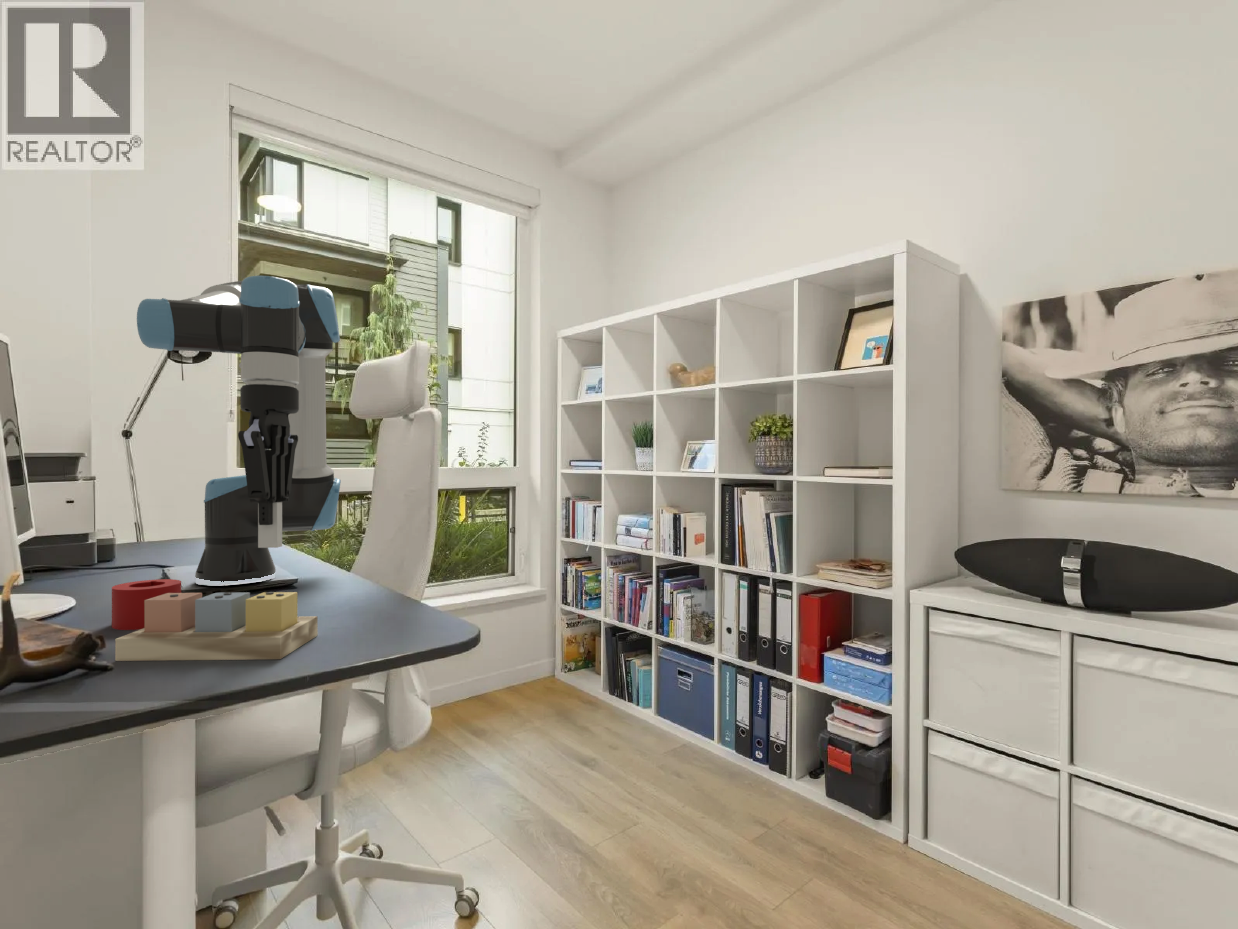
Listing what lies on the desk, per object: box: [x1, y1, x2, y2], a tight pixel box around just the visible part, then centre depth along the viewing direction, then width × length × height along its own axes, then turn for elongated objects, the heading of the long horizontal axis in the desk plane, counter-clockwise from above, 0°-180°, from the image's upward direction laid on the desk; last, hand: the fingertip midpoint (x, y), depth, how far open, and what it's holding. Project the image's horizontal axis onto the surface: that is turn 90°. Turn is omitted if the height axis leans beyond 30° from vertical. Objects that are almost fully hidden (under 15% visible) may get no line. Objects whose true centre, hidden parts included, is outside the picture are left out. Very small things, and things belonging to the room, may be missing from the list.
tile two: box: [195, 591, 251, 632], centre depth 94 cm, size 5×5×5 cm
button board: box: [114, 615, 319, 662], centre depth 94 cm, size 12×22×3 cm, turn 92°
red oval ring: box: [111, 578, 182, 631], centre depth 112 cm, size 18×9×7 cm, turn 18°
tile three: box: [246, 591, 298, 632], centre depth 94 cm, size 5×5×5 cm
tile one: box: [144, 592, 203, 633], centre depth 94 cm, size 5×5×5 cm
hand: (270, 546), depth 94 cm, fingers closed
